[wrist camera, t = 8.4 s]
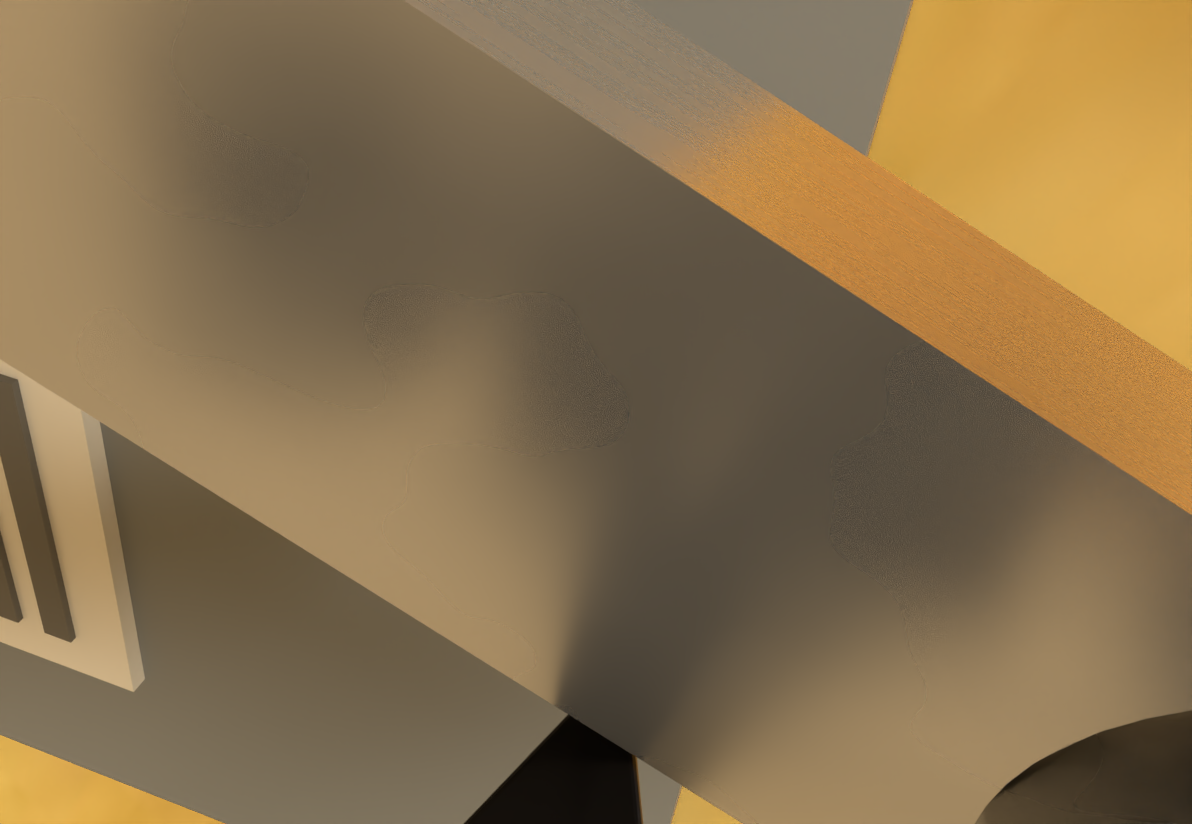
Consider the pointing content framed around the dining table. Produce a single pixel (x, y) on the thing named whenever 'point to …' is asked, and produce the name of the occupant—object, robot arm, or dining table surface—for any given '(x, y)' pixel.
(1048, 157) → the dining table surface
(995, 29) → the dining table surface
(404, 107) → the swing arm
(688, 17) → the label board
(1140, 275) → the dining table surface
